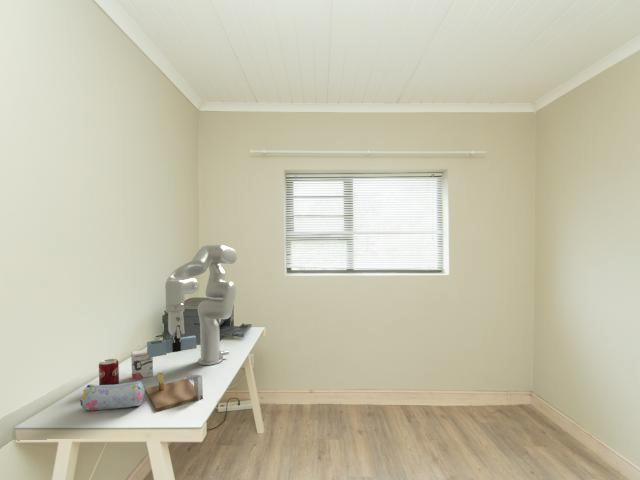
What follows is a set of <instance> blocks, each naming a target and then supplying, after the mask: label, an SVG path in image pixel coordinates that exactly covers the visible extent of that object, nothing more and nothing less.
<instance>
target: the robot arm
mask: <svg viewBox="0 0 640 480" xmlns="http://www.w3.org/2000/svg"><path fill="white" fill-rule="evenodd" d="M237 259H238V254H237V251H236V250H235V248H233V247H229V246H226V245H224V244H207V245H206V244H205V245H203V246H201V248H200V249H199V250H198V251H197V252H196V254H195V255H194V256H193V258H192V259H191V261H188V262H187V263H183V264H182V265H181V266H178V267H177V268H176V269H174V270H173V271H172V272H171V274H170V275H169V276H168V278H167V279H166V281H165V284H164V285H165V286H164V288H165V313H167V316H168V317H167V319H168V320H167V324H168V325H167V326H168V327H167V328H168V333H169V334H170V339H173V352H172V353H177V352H182V351H181V339H180V338H181V335H182V336H184V335H185V320H184V312H185V295H192V294H195V293H196V292H197V291H198V289H199V281H198V280H197V279H196V278H194V277H197V276H200V275H202V274H204V273H205V272H207V270H208V269H209V275H208V279H207V284H206V287H205V291H204V292H205V296H206V298H207V299H206V300H202V301H201V302H199V304H198V306H197V314H198V319H199V333H200V334H199V335H200V341H199V342H200V357H199V358H198V359H197V364H198V365H201V366H211V365H216V364H219V363H222V362H223V361H224V357H223V356H227V355H229V354H230V351H229V350H220V348H221V347H220V345H221V343H220V340H221V339H220V325H219V323H218V320H228V319H229V318H231V316H232V315H233V314H232V313H233V310H234V305H235V300H236V295H237V285H236V284H235V283H234V282H233V281H230V280H228V281H227V280H226V277H227V274H226V271H225V269H224V267H222V265H233V264H235V263H236V261H237ZM208 299H209V300H208Z"/></svg>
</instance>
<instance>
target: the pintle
mask: <svg viewBox="0 0 640 480" xmlns="http://www.w3.org/2000/svg"><path fill="white" fill-rule="evenodd" d="M157 376H158V378H157V379H158V385H159V391H163V390H164V384H165V379H164V378H165V375H164V372H159V373H158V374H157Z"/></svg>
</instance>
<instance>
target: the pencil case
mask: <svg viewBox="0 0 640 480" xmlns="http://www.w3.org/2000/svg"><path fill="white" fill-rule="evenodd" d="M145 388H146V386H145V383H144V381H141V380H138V381H133V382H125V383H119V384H115V385H99V384H97V385H95V384H92V383H91V384H87V386H86V387H85V388H84V390H83V393H82V396H81V397H82V398H81V399H80V401H79V402H80V406H81V407H82V409H83V410H84V411H105V410H113V409H124V408H131V407H132V408H134V407H137V406H139V407H140V406H141V405H142V403H143V400H144V397H145V394H146V391H145Z"/></svg>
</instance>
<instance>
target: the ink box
mask: <svg viewBox="0 0 640 480" xmlns="http://www.w3.org/2000/svg"><path fill="white" fill-rule="evenodd" d="M130 354H131V357H130V358H131V378H132V380H133V381H136V380H138V379H144V378H149V377H153V376H154V361H153V360H154V357H149V356H148V354H147V348H145V349H140V350H139V349H138V350H134V351H131V353H130Z"/></svg>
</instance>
